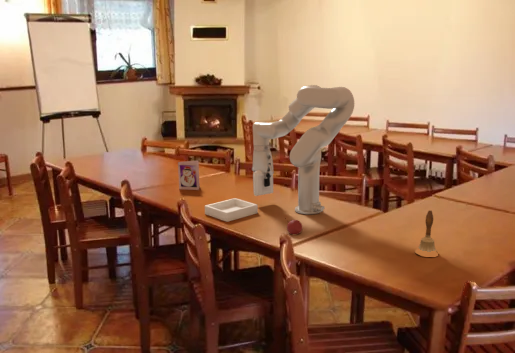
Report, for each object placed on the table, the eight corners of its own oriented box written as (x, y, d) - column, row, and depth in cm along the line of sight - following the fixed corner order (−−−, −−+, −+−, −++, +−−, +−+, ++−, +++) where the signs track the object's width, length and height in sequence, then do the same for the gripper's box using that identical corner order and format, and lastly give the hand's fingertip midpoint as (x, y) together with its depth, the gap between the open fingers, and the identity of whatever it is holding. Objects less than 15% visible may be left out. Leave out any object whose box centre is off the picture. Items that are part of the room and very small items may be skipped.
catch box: (257, 213, 233) (257, 204, 232) (226, 221, 221) (226, 213, 220) (235, 206, 244) (235, 198, 243) (204, 214, 233) (204, 205, 232)
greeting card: (178, 189, 277) (177, 162, 274) (183, 186, 284) (182, 159, 281) (198, 190, 275) (197, 163, 271) (203, 187, 282) (202, 160, 278)
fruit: (297, 235, 209) (290, 216, 211) (306, 231, 205) (298, 212, 206) (286, 238, 205) (279, 219, 207) (295, 234, 201) (288, 215, 202)
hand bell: (433, 249, 186) (436, 207, 183) (442, 257, 178) (445, 214, 175) (411, 249, 186) (413, 207, 182) (419, 258, 178) (421, 214, 174)
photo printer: (269, 191, 251) (268, 166, 248) (274, 193, 247) (273, 168, 245) (252, 195, 245) (251, 169, 243) (257, 196, 242) (256, 171, 239)
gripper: (279, 148, 238) (281, 186, 242) (255, 145, 250) (257, 181, 254) (268, 150, 233) (269, 189, 237) (244, 147, 245) (245, 184, 249)
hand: (263, 185), depth 245 cm, fingers closed on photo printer, 4 cm apart
